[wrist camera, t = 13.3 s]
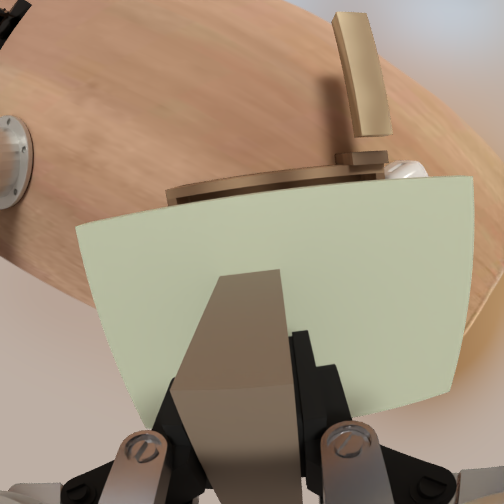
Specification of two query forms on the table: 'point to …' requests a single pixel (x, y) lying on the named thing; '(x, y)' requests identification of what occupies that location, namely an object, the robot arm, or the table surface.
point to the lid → (283, 311)
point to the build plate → (11, 19)
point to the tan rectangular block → (362, 75)
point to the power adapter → (404, 169)
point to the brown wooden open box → (286, 178)
